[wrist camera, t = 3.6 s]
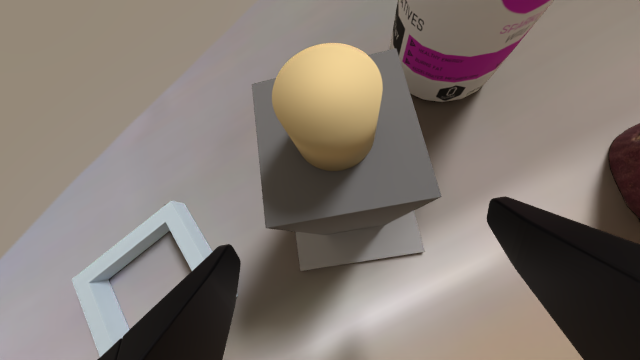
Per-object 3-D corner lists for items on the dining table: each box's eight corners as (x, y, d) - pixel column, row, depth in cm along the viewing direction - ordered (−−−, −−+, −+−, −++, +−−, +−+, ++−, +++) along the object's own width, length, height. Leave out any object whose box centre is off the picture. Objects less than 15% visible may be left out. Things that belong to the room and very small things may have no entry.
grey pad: (423, 251, 17) (424, 251, 16) (301, 270, 18) (300, 271, 17) (393, 136, 19) (393, 135, 19) (286, 159, 20) (285, 158, 20)
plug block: (385, 224, 17) (483, 175, 4) (325, 235, 18) (225, 223, 4) (371, 167, 18) (411, -25, 5) (315, 178, 19) (214, 30, 5)
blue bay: (238, 296, 18) (228, 301, 16) (133, 381, 18) (113, 394, 16) (184, 203, 20) (170, 200, 19) (91, 276, 20) (71, 279, 19)
